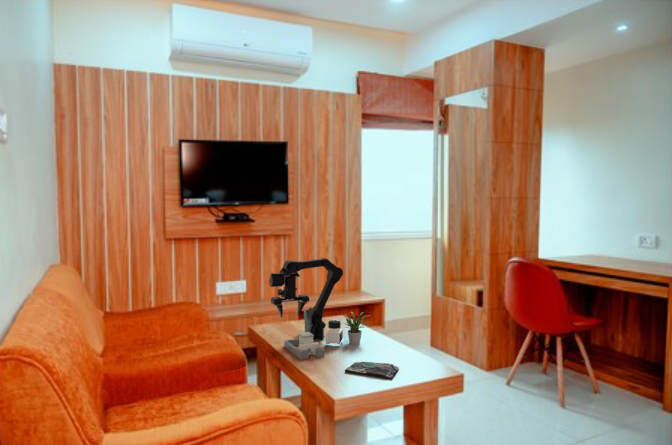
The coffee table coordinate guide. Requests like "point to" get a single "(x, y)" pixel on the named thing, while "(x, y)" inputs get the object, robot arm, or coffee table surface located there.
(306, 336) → the sage jar
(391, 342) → the coffee table surface
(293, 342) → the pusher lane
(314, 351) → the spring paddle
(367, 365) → the terrain model
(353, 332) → the house plant
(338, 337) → the medicine bottle
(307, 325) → the drinking glass
